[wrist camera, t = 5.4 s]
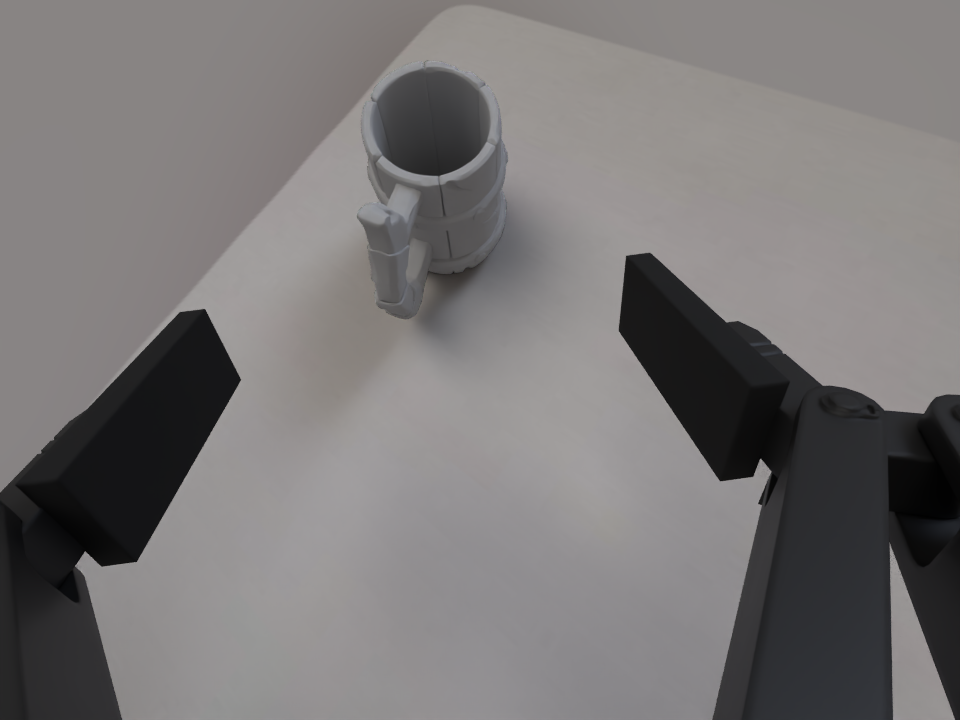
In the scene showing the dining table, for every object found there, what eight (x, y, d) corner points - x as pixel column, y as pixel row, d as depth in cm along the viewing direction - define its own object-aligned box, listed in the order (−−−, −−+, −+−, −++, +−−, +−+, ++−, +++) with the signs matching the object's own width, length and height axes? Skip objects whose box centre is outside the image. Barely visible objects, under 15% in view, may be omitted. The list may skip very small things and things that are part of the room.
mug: (519, 190, 30) (545, 29, 18) (462, 353, 28) (449, 293, 16) (412, 157, 30) (370, -21, 19) (349, 316, 28) (256, 230, 17)
